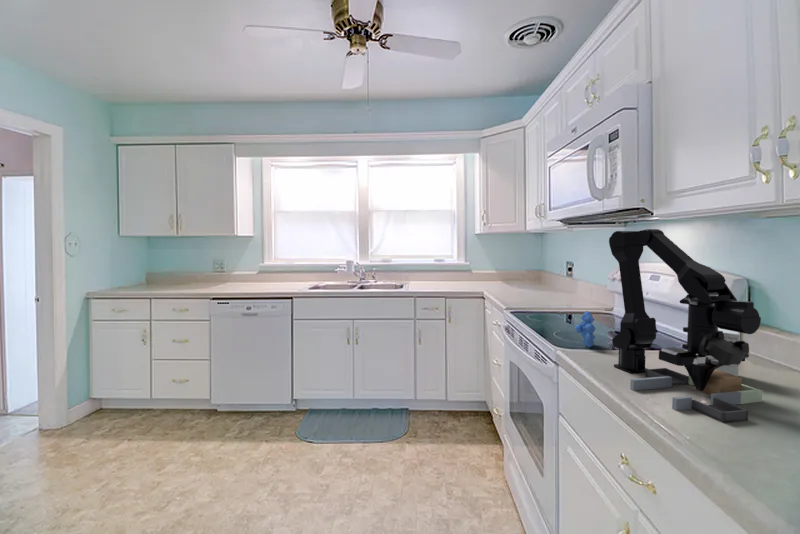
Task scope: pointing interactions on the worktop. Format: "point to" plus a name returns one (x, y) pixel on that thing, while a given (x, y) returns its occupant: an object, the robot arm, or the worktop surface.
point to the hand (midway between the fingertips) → (700, 390)
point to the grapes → (586, 329)
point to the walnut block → (722, 383)
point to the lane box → (718, 407)
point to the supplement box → (733, 337)
